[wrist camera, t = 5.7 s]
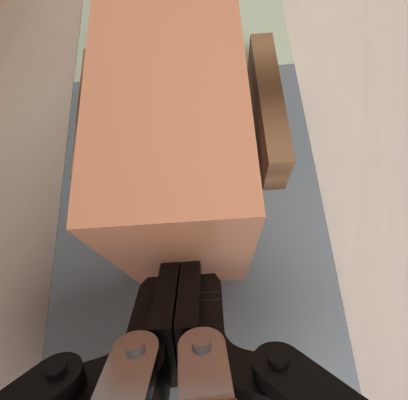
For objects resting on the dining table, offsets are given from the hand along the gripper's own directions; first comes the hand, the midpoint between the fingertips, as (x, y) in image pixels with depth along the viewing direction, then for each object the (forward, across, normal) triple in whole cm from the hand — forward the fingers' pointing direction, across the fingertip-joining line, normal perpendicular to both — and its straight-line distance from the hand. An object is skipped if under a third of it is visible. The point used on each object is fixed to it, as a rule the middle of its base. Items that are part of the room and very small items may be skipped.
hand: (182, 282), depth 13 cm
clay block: (+6, 0, -1) cm, 6 cm away
